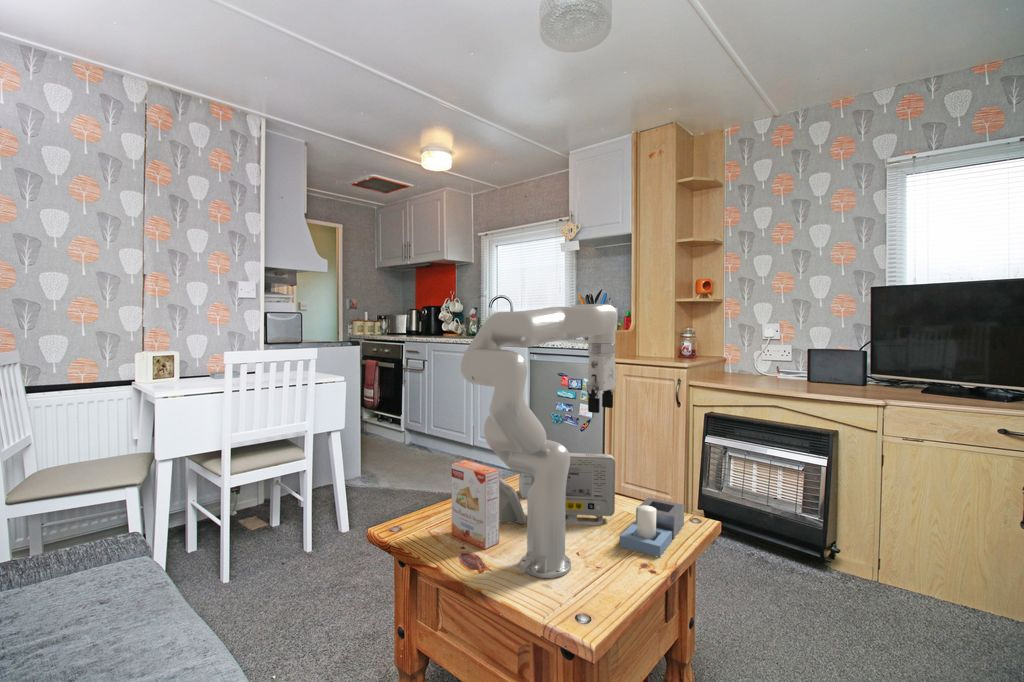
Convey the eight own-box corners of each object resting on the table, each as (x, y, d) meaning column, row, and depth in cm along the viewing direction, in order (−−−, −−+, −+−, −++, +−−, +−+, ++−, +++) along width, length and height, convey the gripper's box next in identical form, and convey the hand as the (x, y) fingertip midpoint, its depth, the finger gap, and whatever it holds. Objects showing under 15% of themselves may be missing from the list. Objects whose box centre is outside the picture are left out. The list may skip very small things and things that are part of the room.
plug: (652, 550, 133) (653, 513, 132) (634, 545, 135) (635, 509, 135) (657, 543, 137) (658, 507, 136) (640, 538, 139) (641, 504, 139)
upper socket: (673, 539, 139) (674, 516, 139) (635, 530, 145) (636, 508, 145) (683, 526, 148) (684, 504, 148) (647, 518, 154) (648, 497, 154)
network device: (612, 514, 157) (613, 452, 156) (615, 526, 148) (616, 460, 148) (532, 511, 160) (532, 450, 159) (530, 522, 151) (531, 457, 150)
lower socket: (660, 557, 128) (660, 546, 128) (619, 546, 134) (619, 536, 134) (671, 542, 138) (671, 531, 137) (633, 532, 144) (633, 522, 144)
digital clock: (527, 526, 148) (527, 491, 147) (497, 528, 146) (497, 492, 146) (517, 506, 164) (518, 474, 163) (490, 507, 162) (490, 476, 162)
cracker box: (450, 535, 141) (450, 463, 140) (466, 529, 145) (466, 458, 145) (484, 551, 132) (484, 473, 131) (500, 543, 136) (500, 468, 135)
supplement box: (518, 491, 178) (518, 456, 178) (538, 490, 179) (539, 456, 179) (521, 498, 171) (521, 462, 171) (542, 497, 172) (542, 461, 171)
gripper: (601, 351, 130) (601, 416, 131) (625, 348, 145) (624, 406, 145) (576, 350, 134) (575, 413, 135) (601, 348, 149) (600, 404, 149)
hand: (600, 409), depth 140 cm, fingers open, 9 cm apart
